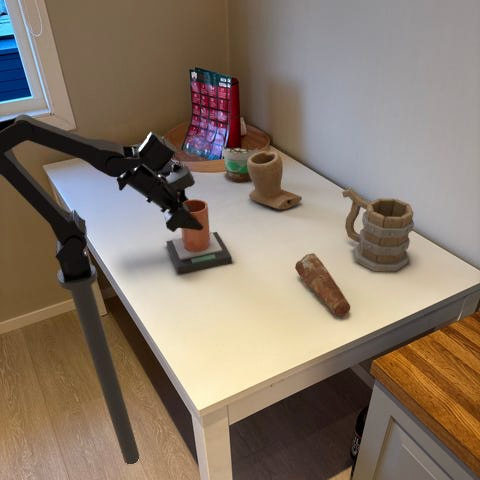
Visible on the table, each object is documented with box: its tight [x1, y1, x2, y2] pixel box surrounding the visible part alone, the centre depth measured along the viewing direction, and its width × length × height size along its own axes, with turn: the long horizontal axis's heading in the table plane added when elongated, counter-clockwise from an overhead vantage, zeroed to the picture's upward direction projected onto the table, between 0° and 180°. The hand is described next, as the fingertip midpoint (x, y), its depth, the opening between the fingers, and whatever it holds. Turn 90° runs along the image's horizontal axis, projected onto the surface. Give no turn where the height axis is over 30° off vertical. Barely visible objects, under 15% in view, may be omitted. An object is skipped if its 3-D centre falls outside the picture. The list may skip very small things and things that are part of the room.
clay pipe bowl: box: [247, 150, 303, 210], centre depth 142 cm, size 15×12×15 cm
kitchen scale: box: [165, 231, 233, 275], centre depth 126 cm, size 14×13×3 cm
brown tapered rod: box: [295, 252, 351, 317], centre depth 111 cm, size 6×19×6 cm, turn 18°
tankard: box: [341, 188, 415, 272], centre depth 121 cm, size 20×13×15 cm, turn 41°
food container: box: [221, 144, 260, 183], centre depth 157 cm, size 12×6×10 cm, turn 73°
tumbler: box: [180, 198, 211, 252], centre depth 122 cm, size 7×7×11 cm
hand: (200, 221), depth 121 cm, fingers closed on tumbler, 7 cm apart
